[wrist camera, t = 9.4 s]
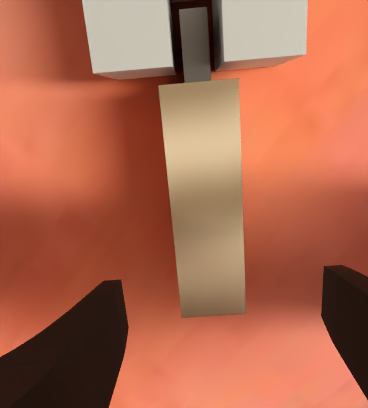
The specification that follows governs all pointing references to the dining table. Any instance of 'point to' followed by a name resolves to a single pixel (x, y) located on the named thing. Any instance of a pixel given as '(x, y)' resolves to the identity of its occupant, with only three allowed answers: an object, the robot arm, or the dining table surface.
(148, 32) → the grey stepped block
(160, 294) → the dining table surface
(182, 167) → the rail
